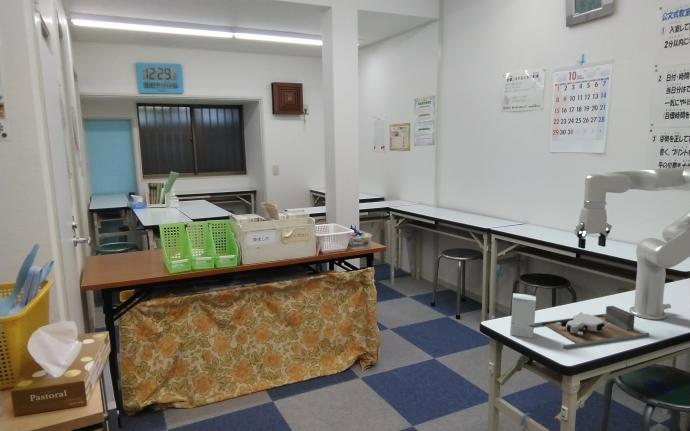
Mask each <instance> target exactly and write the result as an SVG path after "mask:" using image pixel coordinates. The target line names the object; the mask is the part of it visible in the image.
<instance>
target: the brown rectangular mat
mask: <svg viewBox="0 0 690 431" xmlns="http://www.w3.org/2000/svg"><path fill="white" fill-rule="evenodd" d="M605 314H606V317H605V316H603V317H598V318H600V319H602V320H603V321H604V322H605V326H606V325H607V324H609V323H610V325H608V326H606V327H605V328H604V329H603V330H600V331H597V332H593V331H589V330H585V334H584V335H579V334H575V333H571V332H569V331H567V330H566V326H563V327H562V326H558V325H557V324H556V323H551V324H545V325H544V327H546V328H548V329H549V330H551V331H554V332H555V333H556V334H558V335H560V336H562V337H564V338H566V339H567V340H569V341H571V342H573V344H575V343H582V342H589V341H595V340H602V339H609V338H616V337H622V336H629V335H636V334H643V332H640V331H638V330H635V329H634V327H635V326H634V325H635V318H636V317H635V315H634V314H632V313H630V311H628V310H627V311H626V310H624V309H622V308H620V307H617V306H614V305H608V306H607V305H606V308H605ZM567 322H569V321H567ZM560 323H561V322H560Z"/></svg>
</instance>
